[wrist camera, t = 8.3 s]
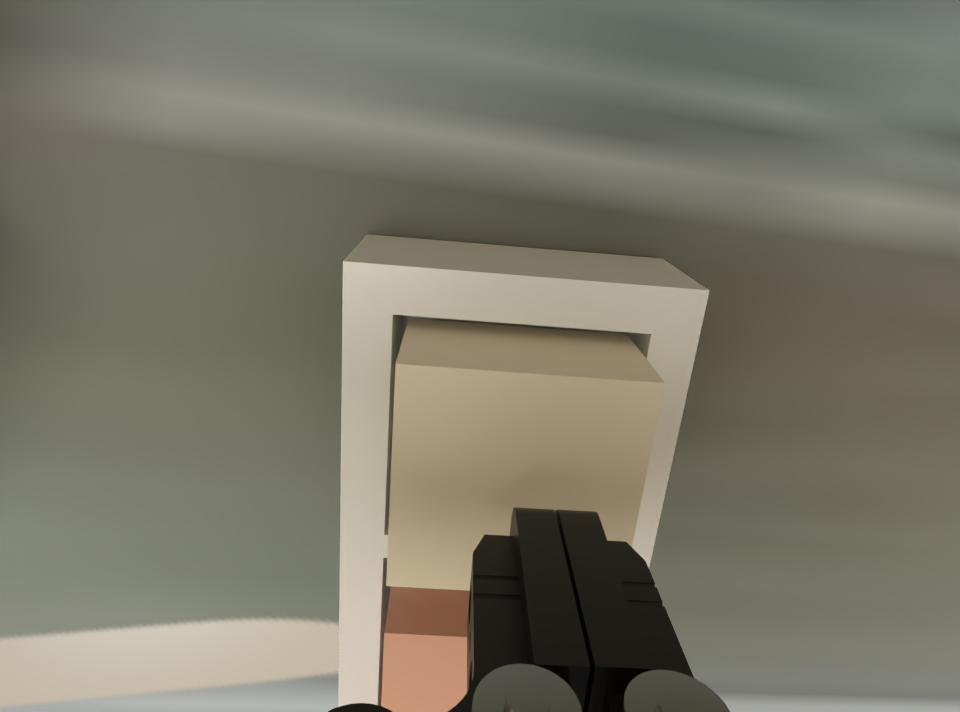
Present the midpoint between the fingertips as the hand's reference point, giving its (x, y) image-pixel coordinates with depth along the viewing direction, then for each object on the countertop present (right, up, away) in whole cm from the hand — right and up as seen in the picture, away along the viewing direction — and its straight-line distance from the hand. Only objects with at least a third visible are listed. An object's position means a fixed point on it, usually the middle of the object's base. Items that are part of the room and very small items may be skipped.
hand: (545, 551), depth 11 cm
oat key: (0, +2, +4) cm, 5 cm away
